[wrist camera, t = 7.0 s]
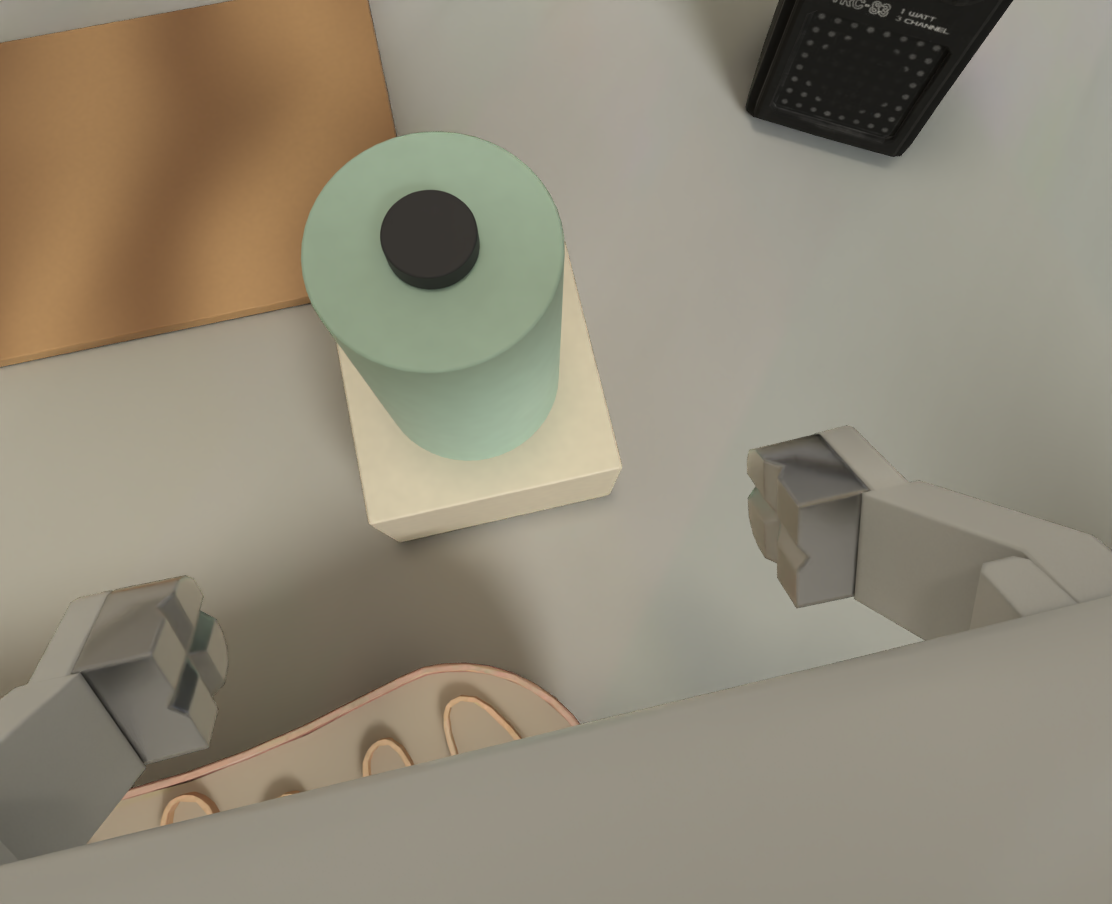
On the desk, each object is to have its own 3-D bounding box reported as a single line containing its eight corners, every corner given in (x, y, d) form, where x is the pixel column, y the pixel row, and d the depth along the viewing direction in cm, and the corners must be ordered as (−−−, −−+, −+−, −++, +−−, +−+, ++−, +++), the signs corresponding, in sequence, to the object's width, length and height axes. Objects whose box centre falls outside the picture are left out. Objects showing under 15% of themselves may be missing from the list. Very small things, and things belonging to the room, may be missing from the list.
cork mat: (-38, 375, 30) (-50, 370, 29) (-59, 65, 33) (-70, 54, 32) (427, 279, 31) (425, 272, 31) (365, -13, 34) (362, -25, 34)
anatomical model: (557, 623, 28) (559, 622, 23) (648, 914, 26) (671, 980, 21) (-93, 836, 26) (-238, 882, 22) (-50, 1166, 24) (-199, 1300, 20)
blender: (398, 543, 29) (261, 461, 15) (360, 341, 31) (206, 101, 17) (610, 494, 29) (667, 373, 16) (561, 299, 31) (573, 32, 17)
